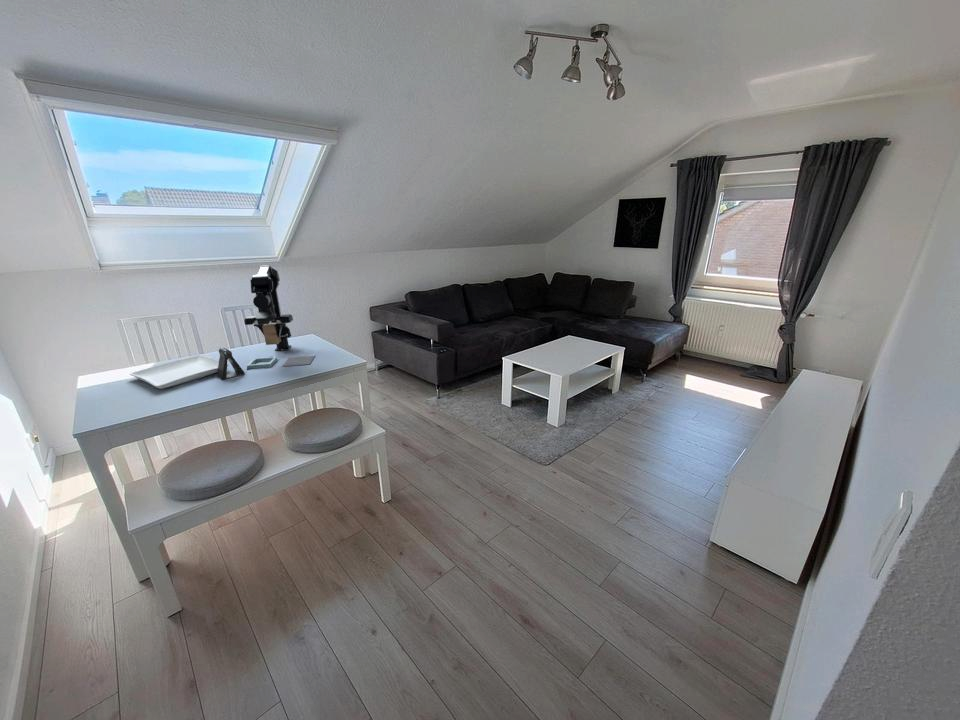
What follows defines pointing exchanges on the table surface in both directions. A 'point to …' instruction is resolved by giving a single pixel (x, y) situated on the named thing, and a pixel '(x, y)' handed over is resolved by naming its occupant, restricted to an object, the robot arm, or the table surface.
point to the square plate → (178, 371)
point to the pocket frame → (253, 365)
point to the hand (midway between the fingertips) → (272, 337)
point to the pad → (298, 361)
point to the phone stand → (223, 365)
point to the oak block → (271, 334)
